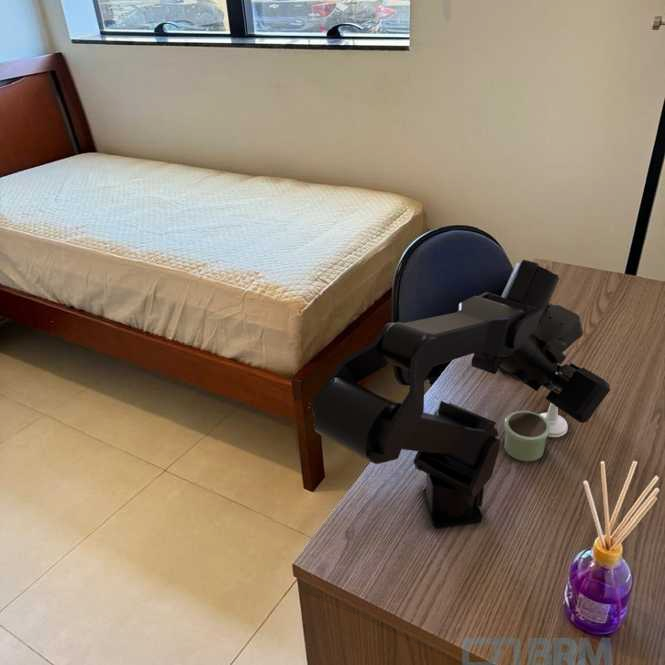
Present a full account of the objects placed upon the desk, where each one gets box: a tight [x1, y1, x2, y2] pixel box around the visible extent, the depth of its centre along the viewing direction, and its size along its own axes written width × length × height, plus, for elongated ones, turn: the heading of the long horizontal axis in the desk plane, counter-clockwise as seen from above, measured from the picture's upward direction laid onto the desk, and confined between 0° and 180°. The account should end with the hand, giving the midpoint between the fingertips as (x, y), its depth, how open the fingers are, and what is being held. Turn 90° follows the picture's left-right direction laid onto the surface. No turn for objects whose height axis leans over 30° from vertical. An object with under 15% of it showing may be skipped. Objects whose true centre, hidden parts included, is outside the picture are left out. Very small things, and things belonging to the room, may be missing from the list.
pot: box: [503, 410, 550, 462], centre depth 88 cm, size 6×6×5 cm
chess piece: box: [538, 372, 568, 438], centre depth 90 cm, size 5×5×10 cm
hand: (563, 387), depth 90 cm, fingers open, 3 cm apart
